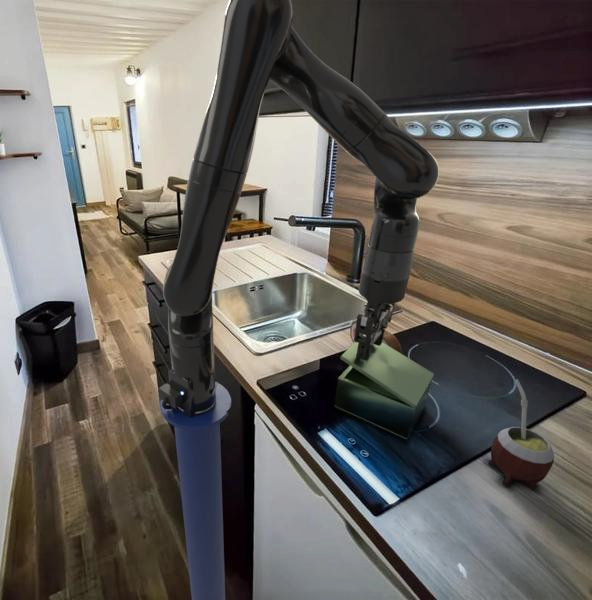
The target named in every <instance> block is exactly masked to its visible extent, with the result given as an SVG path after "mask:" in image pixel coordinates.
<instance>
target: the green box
mask: <svg viewBox="0 0 592 600" xmlns="http://www.w3.org/2000/svg"><path fill="white" fill-rule="evenodd" d="M433 377H434V376H433ZM433 377H432V379H431V381H430V383H429V385H428V386H427V388H426V390H425V392H424V393H423V395H422V397H421V399H420V401H419V402H418V404H417V406H416V407H415V408H413V407H411V406H410V405H408V404H407V403H405V402H404V401H402V400H401V399H399V398H398V397H396V396H395V395H394V394H392V393H391V392H389V391H388V390H386V389H385V388H383V387H382V386H380V385H379V384H377V383H376V382H374V381H373V380H371V379H370V378H368V377H367V376H365V375H364V374H362V373H361V372H359V371H358V370H356V369H355V368H353V367H352V366H350V365H349V366H348V367H346V369H345V370H344V371H343V372H342V374H341V375H340V376H339V377H338V378H337V385H336V391H335V392H336V393H335V399H334V406H333V409H334V410H336V411H339V413H343V414H345V415H346V416H349V417H351V418H353V419H356V420H357V421H359V422H362V423H364V424H366V425H369V426H371V427H372V428H375V429H377V430H379V431H381V432H383V433H386V434H388V435H390V436H392V437H394V438H396V439H398V440H401V441H403V442H405V443H406V442H408V440H409V437H410V436H411V434H412V432H413V430H414V429H415V426H416V424H417V423H418V421H419V419H420V417H421V415H422V413H423V412H424V410H425V407H426V403H427V399H428V395H429V392H430V389H431V385H432V381H433Z"/></svg>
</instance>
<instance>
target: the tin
mask: <svg viewBox="0 0 592 600" xmlns="http://www.w3.org/2000/svg"><path fill="white" fill-rule="evenodd" d="M356 322H357V319H356V320H354V321H353V322H352V323H351V324H350V327H349V328H350V329H349V333H350V339H351V341H352V344H353V343H354V337H355V329H356ZM373 326H374V325H373ZM382 342H383V343H384V344H386V345H388V346H389V347H391V348H392V349H394V350H396V351H397V352H399V353H401V354H402V355H403V349H402V346H401V343H400V342H399V340H398V339H397V337H396V336H395V335H394V334H393V333H391V332H390V331H388V330H387V329H385V332H384V336H383V341H382Z"/></svg>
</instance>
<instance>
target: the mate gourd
mask: <svg viewBox="0 0 592 600" xmlns="http://www.w3.org/2000/svg"><path fill="white" fill-rule="evenodd" d="M514 382H515V384H516V386H517V389H518V391H519V394H520V397H521V399H520V406H521V423H520V424H521V427H520V426H511V427H506V428H504V429H502V430H500V431H499V432H498V433H497V435H496V436H495V437H494V439H493V440H492V443H491V448H490V459H489V460H488V462H487V464H488V466H490V467H492V468H494V469H496V470H497V471H499V472H501V473H503V474H505V477H504V478H503V480H502V481H501V485H502V486H504V487H506V488H509V486H511V485H510V484H511V483H512V482H513V480H515V481H518V482H519V483H521V484H523V485H525V486H527V487H528V488H531V489H532V490H536V489H538V484H539V483H540V482H542V481H543V480H544V479H546V477H547V476H548V474H549V472H550V471H551V469H552V467H553V466H554V465H553V464H554V462H555V454H554V453H555V452H554V451H553V448H552V445H551V444H550V442H549V441H548V440H547V439H546V438H545V437H544V436H542V435H541V434H539V433H538V432H536V431H534V430H531V429H529V428H527V417H528V407H529V400H528V399H527V396H526V392H525V390H524V388H523V386H522V384H521V382H520V380H519V379H518V378H515V379H514Z"/></svg>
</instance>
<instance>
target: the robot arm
mask: <svg viewBox="0 0 592 600" xmlns="http://www.w3.org/2000/svg"><path fill="white" fill-rule="evenodd" d="M292 23H293V4H292V0H229V2H228V4H227V7H226V10H225V15H224V22H223V31H222V37H221V45H220V52H219V57H218V64H217V69H216V70H217V71H216V76H215V81H214V87H213V90H212V94H211V98H210V101H209V104H208V107H207V110H206V112H205V116H204V119H203V121H202V125H201V128H200V132H199V136H198V139H197V142H196V147H195V150H194V153H193V157H192V161H191V165H190V170H189V173H188V179H187V182H186V184H187V185H186V189H185V195H184V202H183V208H182V209H183V210H182V218H181V227H180V236H179V241H178V244H177V249H176V252H175V255H174V258H173V260H172V263H171V264H170V266H169V267H168V268H167V271H166V273H165V276H164V281H163V285H162V296H163V300H164V303H165V304H166V306H167V331H168V342H169V351H170V362H171V369H170V370H168V380H169V383H167V382H166V383H164V384H163V385H162V386H160V387H158V395H159V400H163V403H162V407H163V408H164V409H169V410H170V409H171V408H172V407H173V408H175V409H178V410H179V411H181V412H183V413H184V414H186V415H187V416H189V417H191V418H192V417H193V416H195V415H200V414H204V413H207V412H208V411H210V410H211V409H212V408H213V407H214V406H215V404H216V393H215V389H216V386H217V383H218V381H216V372H215V371H216V369H215V344H214V341H215V340H214V311H213V288H214V281H215V275H216V270H217V266H218V260H219V257H220V256H219V255H220V252H221V250H222V246H223V245H224V241H225V238H226V236H227V234H228V232H229V229H230V226H231V223H232V221H233V218H234V215H235V212H236V209H237V207H238V203H239V200H240V198H241V195H242V191H243V188H244V185H245V182H246V178H247V175H248V174H247V173H248V171H249V168H250V163H251V159H252V155H253V151H254V146H255V140H256V135H257V129H258V123H259V115H260V112H261V106H262V102H263V98H264V95H265V92H266V89H267V87H268V83H269V81H271V82H273V83H274V84H275V85H276V86H277V87H279V89H281V90H283V92H285V93H286V94H287V95H288V96H289V97H291V98H292V100H294V101H295V102H296V103H297V104H298V105H299V106H300V107H301V108H302V109H303V110H304V111H305V112H306V113H307V114H308V115H309V116H310V117H311V118H312V119H313V120H314V121H315V122H316V123H317V124H318V125H319V126H320V127H321V129H322V130H323V131H325V133H327V134H328V136H330V138H332V140H334V142H336V144H337V145H338V146H339V147H341V149H343V150H344V151H345V152H346V153H347V154H348V155H349V156H351V158H353V159H354V160H355V161H357V162H359V163H361V164H362V165H364V167H366V168H367V169H368V170H369V171H370V173H371V174H372V175H374V177H375V178H374V179H375V180H374V189H373V218H372V223H371V228H370V231H369V237H368V244H367V248H366V251H365V254H364V257H363V263H362V268H361V274H360V280H359V286H358V293H359V295H360V296H361V297H363V298H364V299H365V300H366V301H367V302H366V303H364V305H363V308H362V311H361V313H358V315H357V316H356V320H357V322H356V329H355V337H354V342H357V343H358V349H357V354H356V356H357V357H358V358H360V359H363V360H365V361H367V360H368V359H369V358H370V353H371V348H372V344H375V345H378V346H380V345H381V344H382V341H383V336H384V332H385V330H387V328H388V327H389V326H388V324H389V323H391V322H392V317H393V314H394V310H395V306H396V304H397V303H399V302H401V301H403V300H404V299H405V296H406V292H407V287H408V284H409V280H410V275H411V271H412V266H413V261H414V252H415V246H416V243H417V239H418V234H419V230H420V229H419V228H420V218H419V215H418V213H417V202H418V201H417V199H420V198H422V197H424V196H426V195H427V194H429V193H430V192H431V191H432V190H433V189H434V188H435V186H436V184H437V182H438V179H439V177H440V168H439V164H438V162H437V160H436V158H435V157H434V155H433V154H431V153H430V152H429V150H427V149H426V148H425V147H424V146H423V145H421V143H420V142H418V141H417V140H416V139H414V138H413V137H412V136H410V135H409V134H408V133H406V132H405V131H404V130H403V129H402V128H400V127H399V126H397V125H396V124H395V123H394V122H393V120H392V119H391V118H390V117H389V116H388V115H387V113H385V112H384V110H383V109H382V108H381V107H380V106H379V105H378V104H377V103H376V102H375V101H374V100H373V99H372V98H371V97H370V96H369V95H367V93H366V92H365V91H363V89H361V88H360V87H359V86H357V84H355V83H354V82H352V81H351V80H349V79H348V78H347V77H345V76H343V75H342V74H340V72H338V71H336V70H334V69H333V68H331V67H330V66H329V65H327V64H326V63H325V62H324V61H322V60H321V59H320V58H319V57H318V56H317V55H316V54H315V53H314V52H313V51H312V50H311V49H310V48H309V47H308V46H307V45H306V44H305V42H304V40H303V39H302V38H301V36H299V34H298V33H297V31H296V30H295V28H294V26H293V25H292ZM373 325H374V326H373ZM375 327H376V328H375ZM380 329H381V330H382V334H381V336H380V337H379V338H378V339H377V340H376V341H375V342H374V343H373V340H374V337H375V334H376V333H379V332H380ZM363 335H366V336H363ZM215 382H216V385H215ZM166 404H169V405H166Z"/></svg>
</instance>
